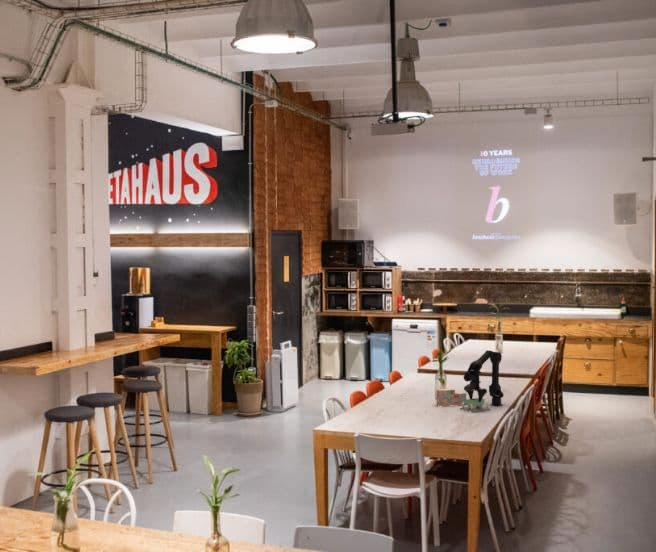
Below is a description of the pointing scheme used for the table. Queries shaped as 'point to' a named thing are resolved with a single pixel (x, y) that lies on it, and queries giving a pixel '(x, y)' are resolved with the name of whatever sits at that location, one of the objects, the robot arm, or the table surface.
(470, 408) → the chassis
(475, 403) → the board
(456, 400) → the stack of blocks
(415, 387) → the table surface
